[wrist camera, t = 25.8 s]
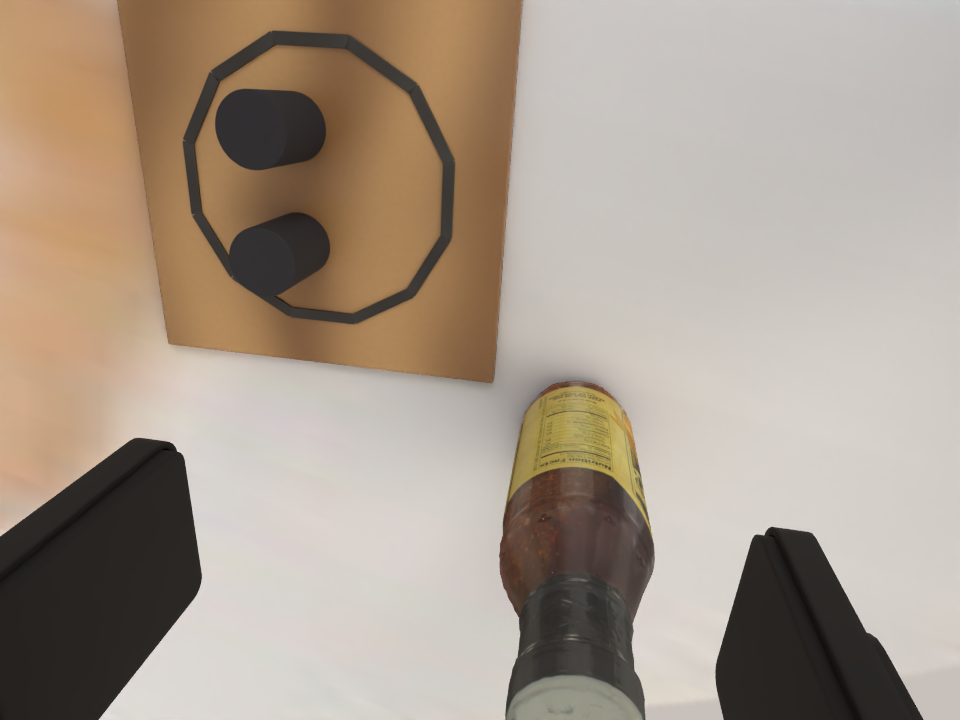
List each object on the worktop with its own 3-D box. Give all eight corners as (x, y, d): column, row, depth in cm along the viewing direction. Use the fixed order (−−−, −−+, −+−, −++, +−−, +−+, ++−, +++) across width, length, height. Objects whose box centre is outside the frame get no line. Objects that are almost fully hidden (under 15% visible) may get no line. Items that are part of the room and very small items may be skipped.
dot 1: (329, 214, 33) (292, 230, 29) (331, 276, 34) (297, 300, 30) (269, 209, 33) (224, 224, 29) (273, 270, 34) (231, 293, 30)
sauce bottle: (603, 483, 37) (622, 845, 19) (506, 445, 37) (434, 770, 19) (651, 393, 34) (728, 714, 16) (548, 352, 34) (509, 627, 16)
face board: (524, -23, 28) (522, -25, 27) (494, 379, 36) (492, 384, 35) (119, -39, 30) (108, -42, 29) (173, 340, 38) (166, 345, 37)
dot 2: (325, 92, 30) (284, 90, 26) (327, 164, 32) (289, 173, 28) (260, 88, 31) (210, 86, 27) (265, 159, 32) (218, 167, 28)
